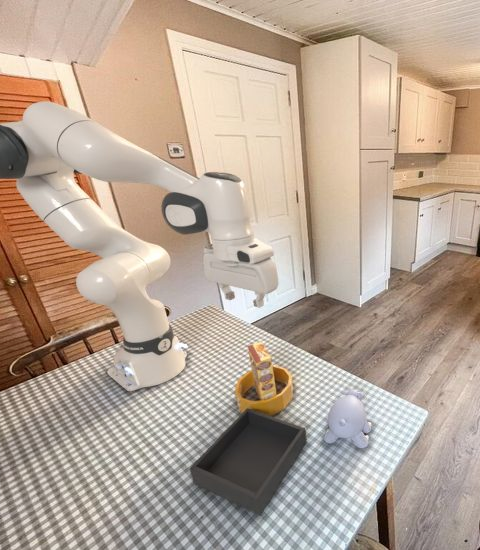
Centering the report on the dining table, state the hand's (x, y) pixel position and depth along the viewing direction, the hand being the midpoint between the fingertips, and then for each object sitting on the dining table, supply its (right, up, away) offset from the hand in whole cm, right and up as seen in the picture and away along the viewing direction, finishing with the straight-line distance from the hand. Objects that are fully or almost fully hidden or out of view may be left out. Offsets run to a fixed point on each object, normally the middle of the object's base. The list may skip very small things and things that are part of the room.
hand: (244, 302), depth 74 cm
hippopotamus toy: (+25, -32, +2) cm, 41 cm away
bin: (+5, -35, -7) cm, 36 cm away
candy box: (+2, -28, +11) cm, 30 cm away
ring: (+2, -28, +11) cm, 30 cm away
